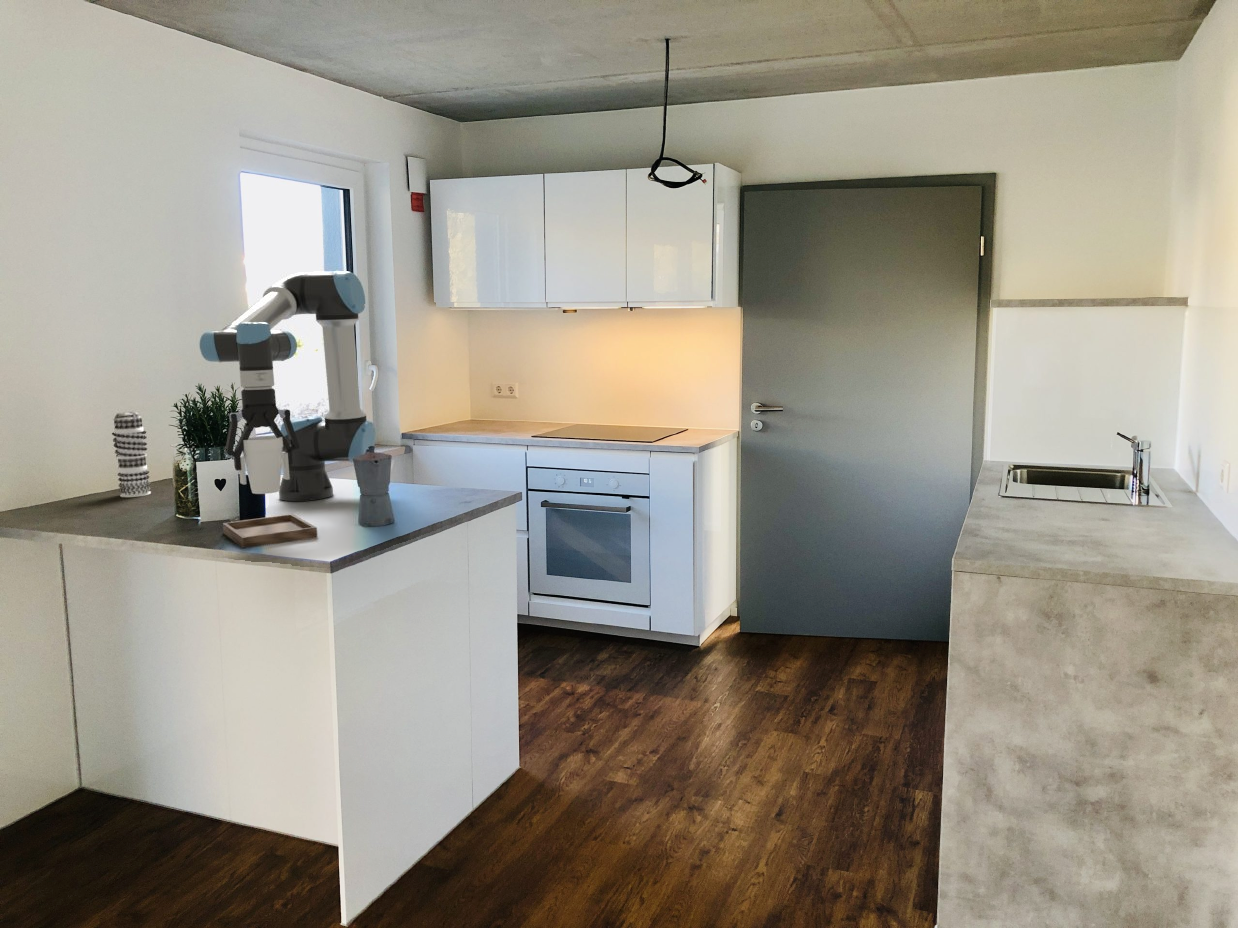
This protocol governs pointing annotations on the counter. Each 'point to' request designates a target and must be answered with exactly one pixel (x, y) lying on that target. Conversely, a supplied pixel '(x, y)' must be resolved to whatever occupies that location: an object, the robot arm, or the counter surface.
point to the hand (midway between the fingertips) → (265, 481)
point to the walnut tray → (269, 530)
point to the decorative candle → (131, 454)
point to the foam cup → (263, 463)
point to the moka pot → (374, 488)
